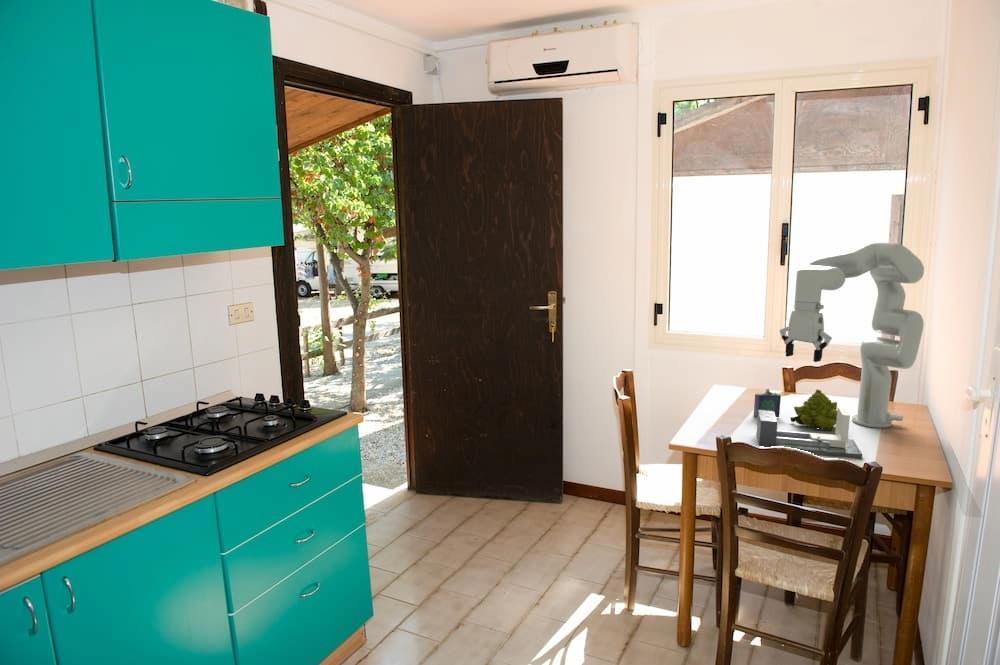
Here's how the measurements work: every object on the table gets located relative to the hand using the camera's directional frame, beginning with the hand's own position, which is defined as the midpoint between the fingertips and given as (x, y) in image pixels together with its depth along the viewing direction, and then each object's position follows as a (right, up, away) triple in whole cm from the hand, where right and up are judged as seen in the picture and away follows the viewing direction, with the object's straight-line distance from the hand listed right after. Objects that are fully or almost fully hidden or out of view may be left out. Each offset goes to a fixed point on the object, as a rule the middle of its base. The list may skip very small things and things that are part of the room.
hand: (803, 358), depth 215 cm
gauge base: (+2, -29, +2) cm, 29 cm away
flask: (+1, -23, +33) cm, 40 cm away
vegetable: (+15, -26, +20) cm, 36 cm away
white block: (+7, -28, -1) cm, 29 cm away
